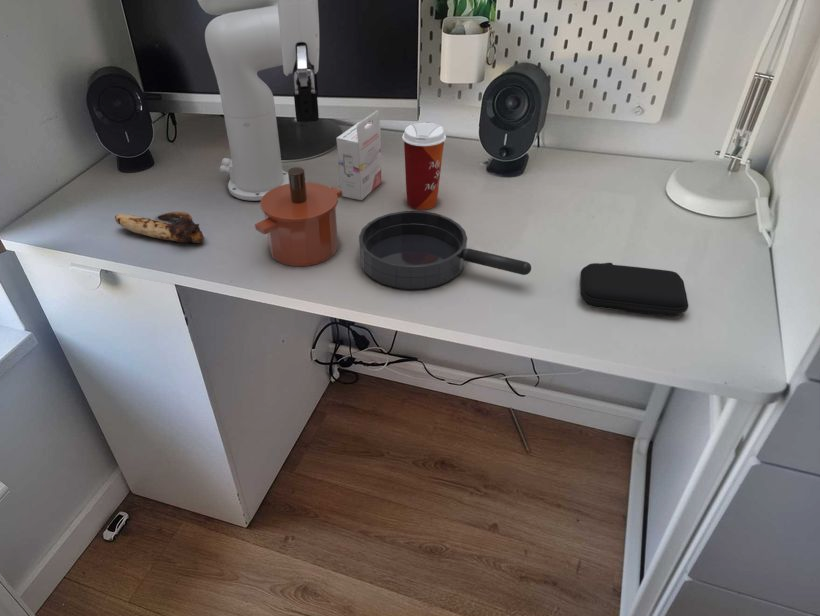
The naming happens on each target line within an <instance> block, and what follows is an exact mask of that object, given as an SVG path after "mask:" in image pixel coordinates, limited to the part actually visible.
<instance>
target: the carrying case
mask: <svg viewBox="0 0 820 616" xmlns="http://www.w3.org/2000/svg"><path fill="white" fill-rule="evenodd" d="M579 277H580V278H579V279H580V280H579V282H580V283H579V287H580V288H579V291H580V292H579V294H580V298H581V300H582V301H584V303H585V304H586V305H587V306H589V307H593V308H599V309H607V310H616V311H623V312H631V313H639V314H648V315H658V316H666V317H667V316H668V317H674V316H680V315H681V314H684V313H685V312H687V310H688V309H689V301H688V296H687V292H686V291H687V290H686V286H685V281H684V280H683V278H682V277H681V276H680V274H679V273H678V272H676V271H672V270H667V269H660V268H659V269H657V268H651V267H650V268H649V267H641V266H632V265H622V264H613V263H612V262H601V263H599V262H595V263H589V264H588V265H586V266H584V267H583V268H582V269H581V270H580V273H579Z"/></svg>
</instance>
